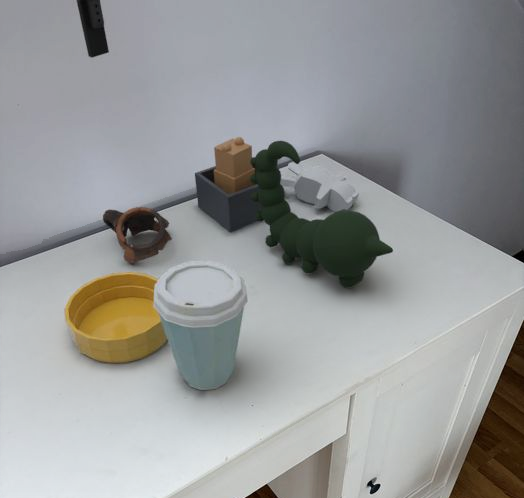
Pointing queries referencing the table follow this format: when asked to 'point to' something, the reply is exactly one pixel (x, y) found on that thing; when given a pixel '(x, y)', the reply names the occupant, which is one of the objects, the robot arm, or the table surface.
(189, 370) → the disposable coffee cup
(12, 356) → the table surface
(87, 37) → the robot arm
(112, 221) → the rusty brown ring frame
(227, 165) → the tan stacked block
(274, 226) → the toy figurine
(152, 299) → the bowl
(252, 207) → the bin
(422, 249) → the table surface
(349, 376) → the table surface
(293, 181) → the bunny figurine
